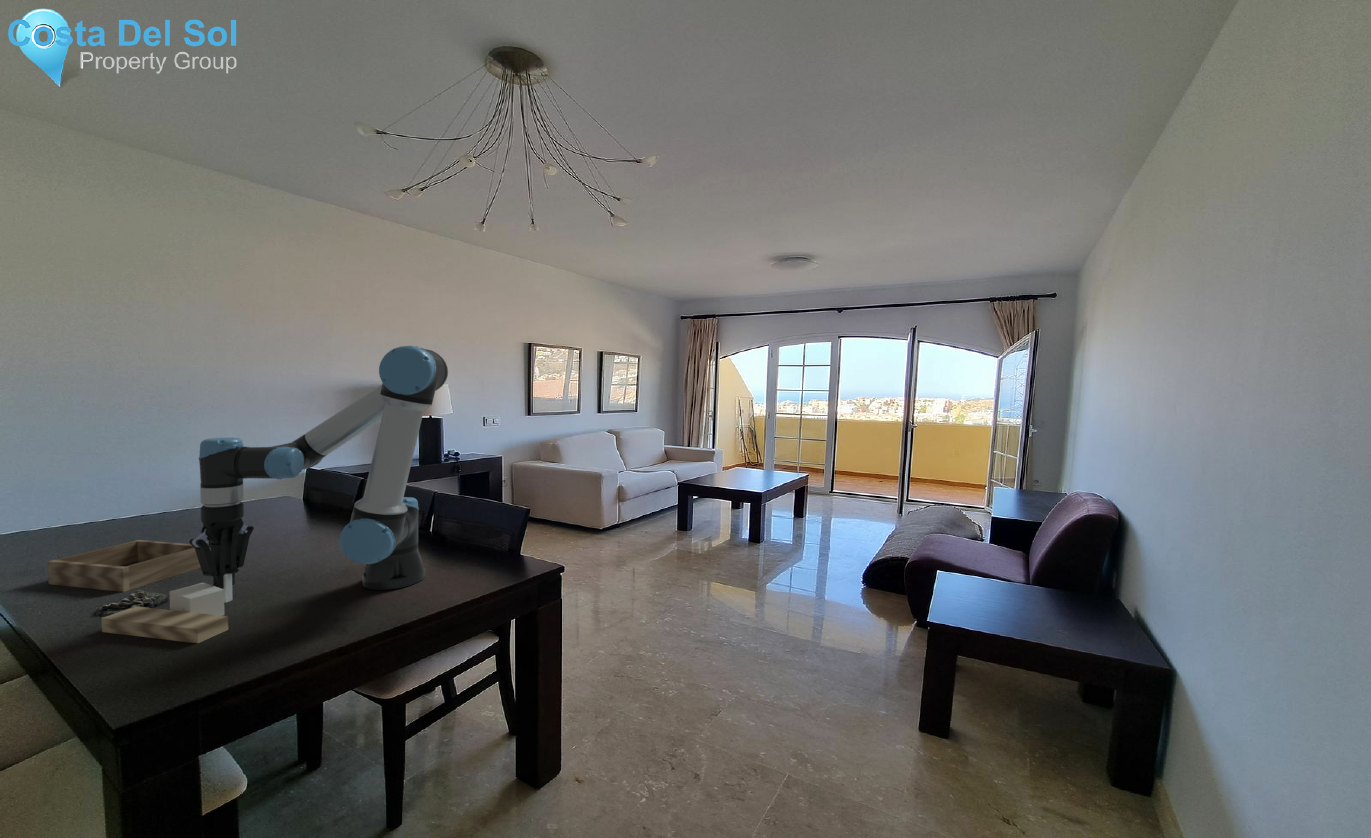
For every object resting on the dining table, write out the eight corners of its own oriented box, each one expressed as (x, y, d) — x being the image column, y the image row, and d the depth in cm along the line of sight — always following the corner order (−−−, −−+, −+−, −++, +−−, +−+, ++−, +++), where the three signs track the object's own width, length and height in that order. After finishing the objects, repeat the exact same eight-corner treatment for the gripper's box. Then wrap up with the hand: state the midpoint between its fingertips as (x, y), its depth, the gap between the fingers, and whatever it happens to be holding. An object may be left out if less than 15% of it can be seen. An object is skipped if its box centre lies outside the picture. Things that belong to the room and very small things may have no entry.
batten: (228, 629, 110) (227, 616, 110) (197, 643, 104) (197, 629, 104) (136, 619, 114) (135, 606, 113) (101, 631, 108) (101, 618, 108)
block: (224, 614, 117) (223, 589, 117) (190, 625, 112) (190, 599, 111) (203, 607, 121) (203, 582, 120) (170, 617, 115) (169, 591, 115)
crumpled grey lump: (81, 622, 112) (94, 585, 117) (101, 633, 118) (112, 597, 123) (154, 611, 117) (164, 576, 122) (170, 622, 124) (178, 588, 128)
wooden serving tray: (206, 565, 147) (206, 545, 147) (123, 591, 128) (122, 568, 127) (139, 559, 150) (138, 539, 150) (48, 584, 131) (47, 561, 131)
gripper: (237, 496, 127) (238, 588, 128) (177, 508, 114) (180, 610, 115) (263, 498, 126) (264, 591, 127) (206, 510, 113) (208, 614, 114)
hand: (224, 600), depth 121 cm, fingers closed
